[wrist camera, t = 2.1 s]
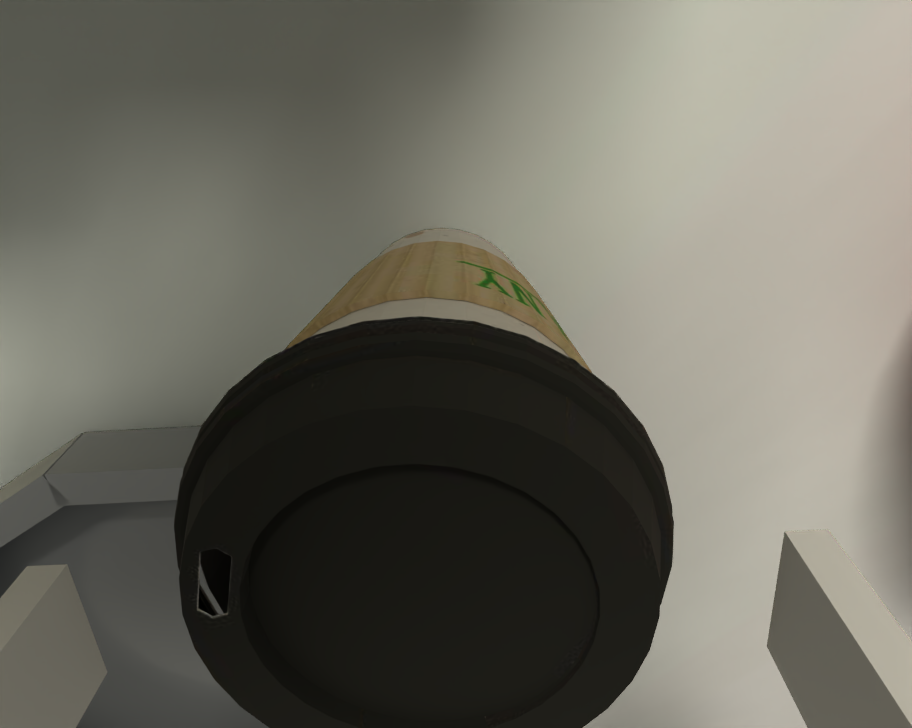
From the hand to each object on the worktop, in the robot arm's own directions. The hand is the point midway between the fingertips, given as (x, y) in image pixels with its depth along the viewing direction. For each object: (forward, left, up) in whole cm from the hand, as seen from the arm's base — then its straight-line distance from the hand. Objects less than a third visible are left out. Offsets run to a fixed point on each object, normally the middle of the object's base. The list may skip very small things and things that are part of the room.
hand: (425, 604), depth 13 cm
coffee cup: (0, 0, -15) cm, 15 cm away
